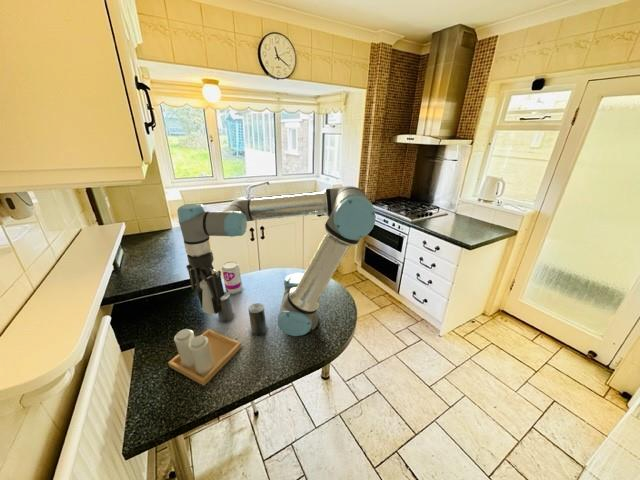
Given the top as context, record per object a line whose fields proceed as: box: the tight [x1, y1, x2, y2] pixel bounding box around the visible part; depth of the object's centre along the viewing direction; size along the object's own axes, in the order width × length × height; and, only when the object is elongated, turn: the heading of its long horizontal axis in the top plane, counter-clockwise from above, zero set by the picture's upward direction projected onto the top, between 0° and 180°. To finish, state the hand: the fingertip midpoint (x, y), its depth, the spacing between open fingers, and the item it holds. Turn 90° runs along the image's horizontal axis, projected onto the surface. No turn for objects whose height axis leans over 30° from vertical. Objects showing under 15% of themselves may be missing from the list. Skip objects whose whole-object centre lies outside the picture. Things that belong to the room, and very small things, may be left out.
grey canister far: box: [217, 291, 234, 324], centre depth 111 cm, size 6×6×12 cm
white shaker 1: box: [173, 328, 196, 368], centre depth 90 cm, size 6×6×13 cm
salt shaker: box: [200, 279, 216, 316], centre depth 90 cm, size 6×6×13 cm
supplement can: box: [221, 261, 243, 295], centre depth 130 cm, size 8×8×15 cm
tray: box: [167, 328, 242, 387], centre depth 94 cm, size 17×18×3 cm
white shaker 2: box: [189, 335, 214, 376], centre depth 87 cm, size 6×6×13 cm
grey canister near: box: [248, 302, 267, 337], centre depth 104 cm, size 6×6×12 cm
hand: (211, 308), depth 92 cm, fingers closed on salt shaker, 6 cm apart
